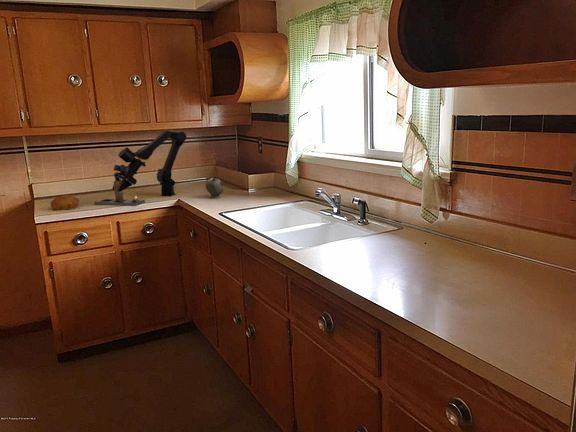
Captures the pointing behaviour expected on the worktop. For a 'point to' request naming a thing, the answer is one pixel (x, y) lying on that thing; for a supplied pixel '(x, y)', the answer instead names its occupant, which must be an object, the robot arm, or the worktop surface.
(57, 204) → the bread loaf
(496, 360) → the worktop surface
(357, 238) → the worktop surface
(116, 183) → the dowel
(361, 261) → the worktop surface
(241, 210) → the worktop surface
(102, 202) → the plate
